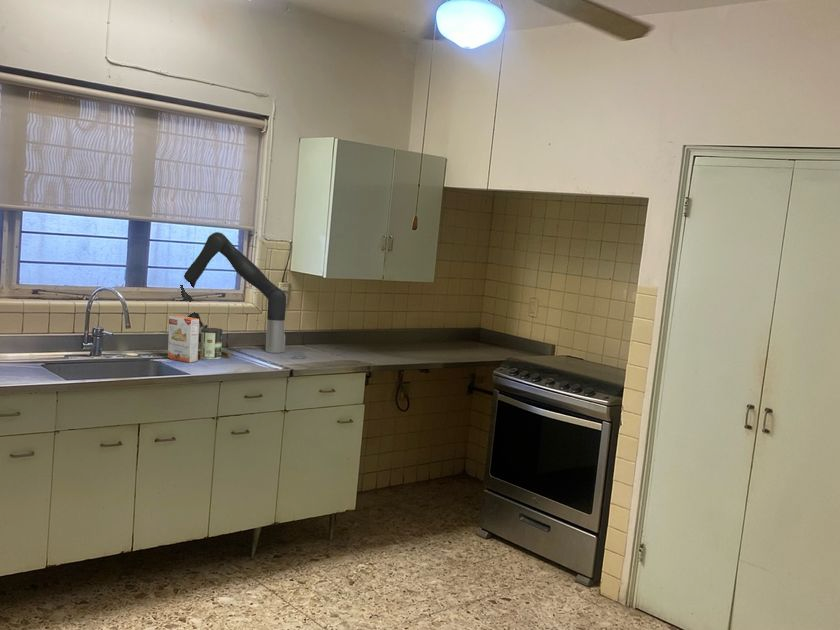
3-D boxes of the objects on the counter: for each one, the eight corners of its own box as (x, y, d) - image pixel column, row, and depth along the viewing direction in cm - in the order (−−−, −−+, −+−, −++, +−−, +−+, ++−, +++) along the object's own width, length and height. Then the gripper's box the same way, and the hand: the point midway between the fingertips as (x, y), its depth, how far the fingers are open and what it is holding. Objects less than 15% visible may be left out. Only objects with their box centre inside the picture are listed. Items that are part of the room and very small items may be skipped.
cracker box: (166, 359, 377) (168, 315, 375) (176, 357, 382) (177, 314, 380) (188, 363, 371) (190, 319, 368) (198, 361, 376) (199, 318, 374)
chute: (220, 354, 398) (220, 350, 398) (230, 358, 391) (230, 353, 391) (190, 356, 388) (191, 351, 387) (200, 360, 380) (200, 355, 380)
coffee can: (217, 355, 396) (219, 327, 395) (224, 359, 388) (225, 330, 386) (197, 355, 391) (198, 327, 389) (203, 359, 382) (204, 330, 381)
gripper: (180, 309, 398) (190, 337, 391) (205, 309, 407) (215, 336, 399) (176, 318, 403) (185, 346, 395) (200, 318, 412) (210, 345, 404)
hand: (200, 341), depth 397 cm, fingers closed
